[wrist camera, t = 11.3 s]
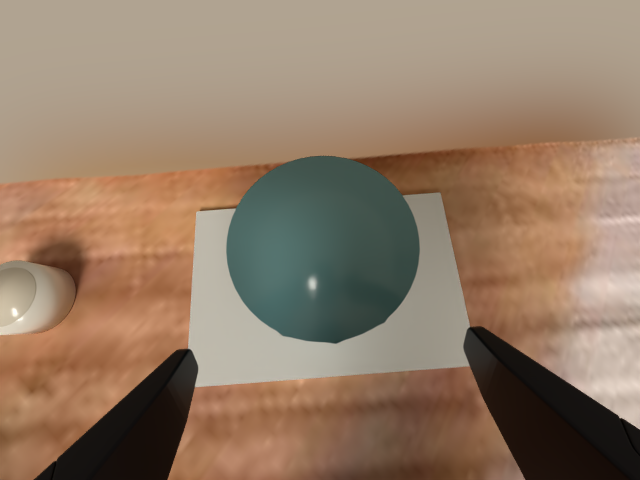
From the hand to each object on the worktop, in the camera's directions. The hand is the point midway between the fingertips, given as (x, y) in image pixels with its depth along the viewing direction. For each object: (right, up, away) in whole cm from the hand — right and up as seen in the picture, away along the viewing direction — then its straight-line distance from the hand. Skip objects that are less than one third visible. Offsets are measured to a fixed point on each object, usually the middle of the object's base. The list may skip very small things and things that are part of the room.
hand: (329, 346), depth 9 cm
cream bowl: (-22, -1, +12) cm, 25 cm away
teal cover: (0, 0, +12) cm, 12 cm away
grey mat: (0, 0, +12) cm, 12 cm away
